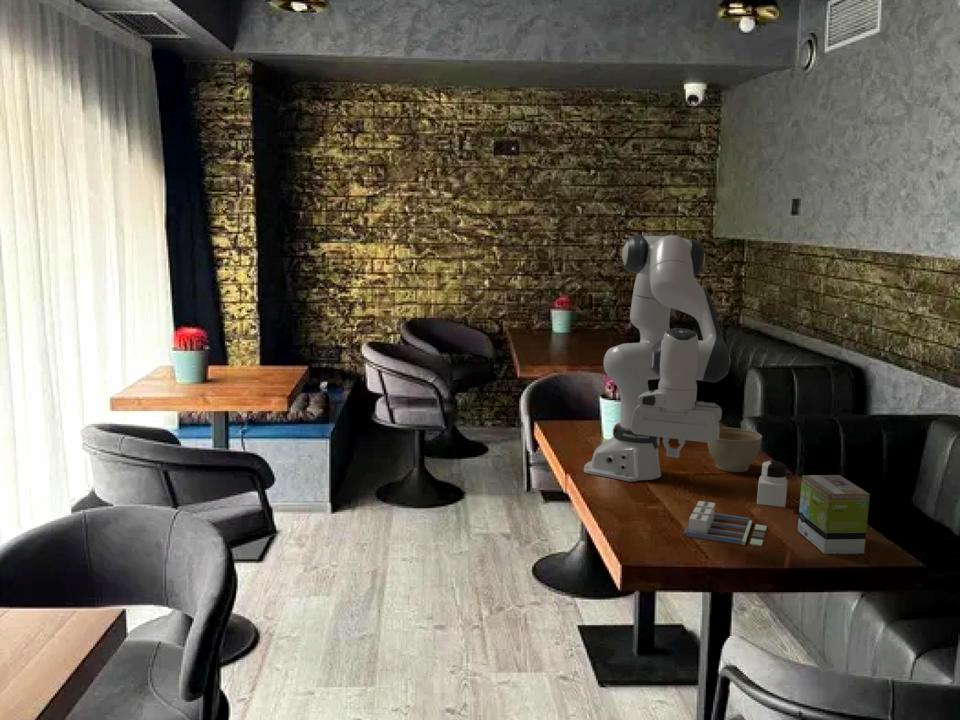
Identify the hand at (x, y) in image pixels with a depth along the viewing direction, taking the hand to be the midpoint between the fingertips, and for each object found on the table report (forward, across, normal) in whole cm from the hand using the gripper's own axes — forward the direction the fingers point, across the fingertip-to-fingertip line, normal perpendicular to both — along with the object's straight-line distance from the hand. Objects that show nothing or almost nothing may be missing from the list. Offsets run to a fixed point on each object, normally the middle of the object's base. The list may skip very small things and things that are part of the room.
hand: (672, 456), depth 216 cm
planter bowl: (+19, -7, -68) cm, 72 cm away
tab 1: (+18, -7, -11) cm, 22 cm away
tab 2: (+18, -7, 0) cm, 19 cm away
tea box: (+19, -36, -11) cm, 42 cm away
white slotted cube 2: (+18, -7, -6) cm, 20 cm away
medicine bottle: (+19, -21, -34) cm, 45 cm away
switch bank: (+19, -11, -6) cm, 23 cm away
